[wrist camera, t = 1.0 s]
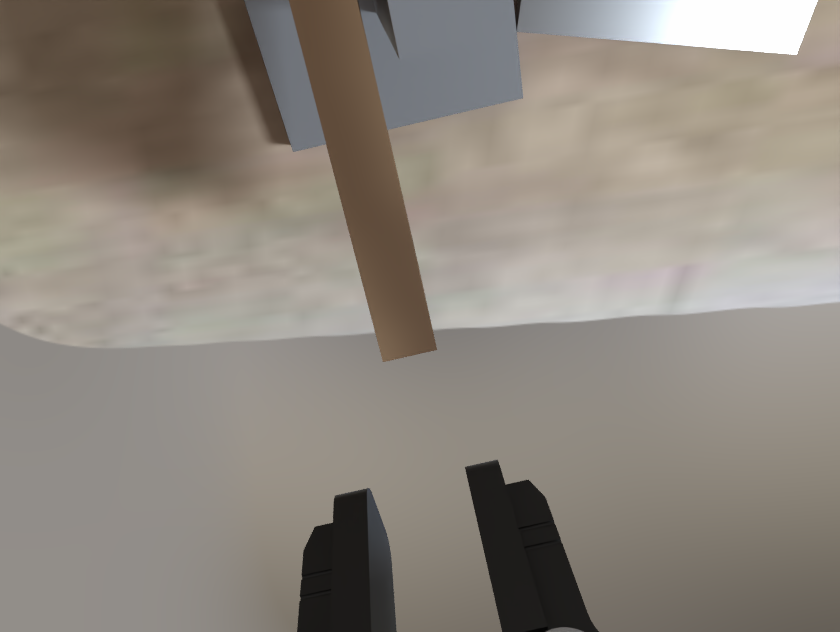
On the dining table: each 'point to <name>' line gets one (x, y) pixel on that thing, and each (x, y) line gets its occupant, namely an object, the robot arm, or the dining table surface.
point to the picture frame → (365, 172)
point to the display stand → (401, 60)
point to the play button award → (674, 21)
